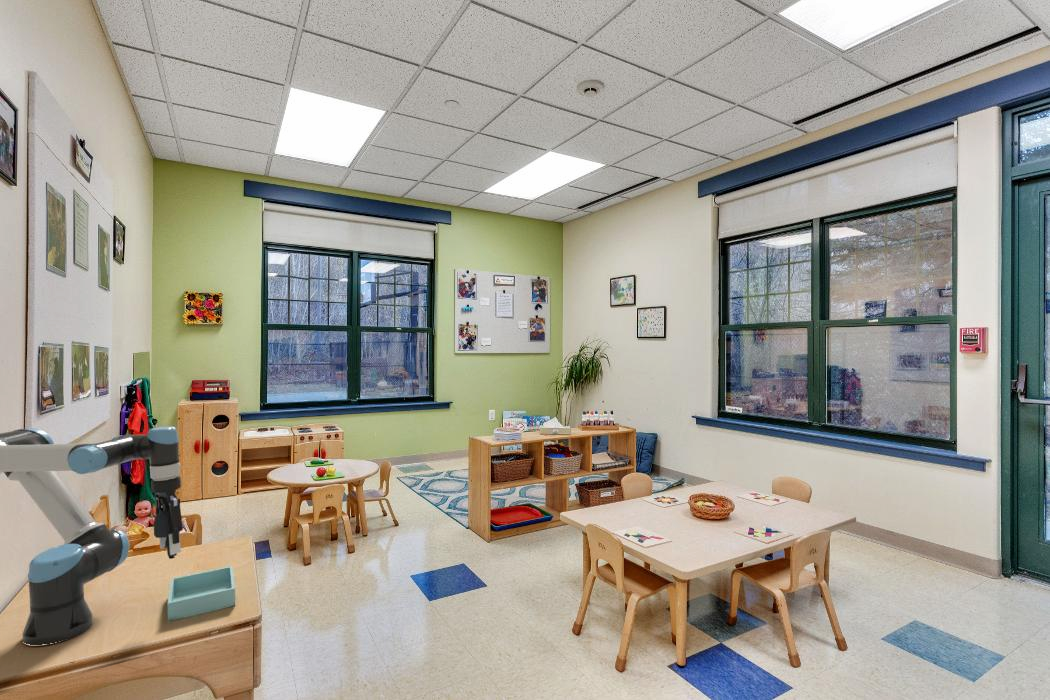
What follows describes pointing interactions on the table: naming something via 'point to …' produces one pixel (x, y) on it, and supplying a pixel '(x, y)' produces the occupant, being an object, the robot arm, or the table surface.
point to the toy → (163, 530)
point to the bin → (201, 593)
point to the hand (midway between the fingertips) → (170, 550)
